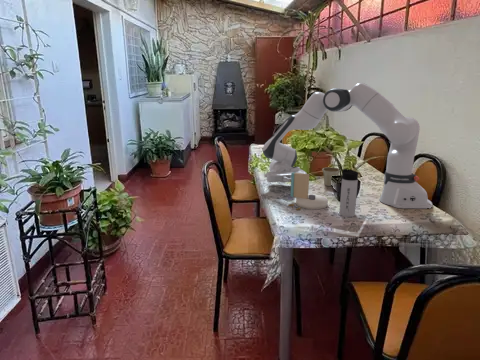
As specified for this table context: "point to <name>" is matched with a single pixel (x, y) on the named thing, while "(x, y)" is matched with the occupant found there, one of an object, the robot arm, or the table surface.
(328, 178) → the flower pot
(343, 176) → the travel mug
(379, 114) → the robot arm
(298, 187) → the white base with panel
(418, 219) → the table surface
